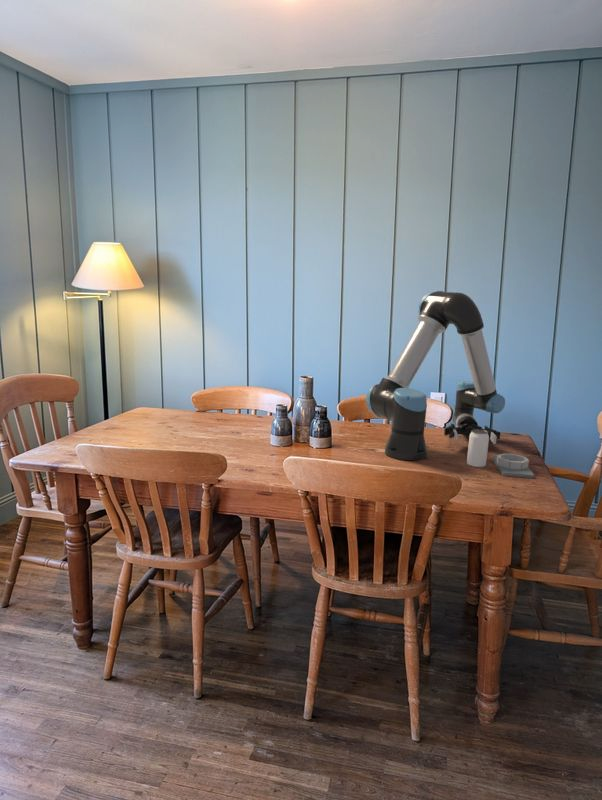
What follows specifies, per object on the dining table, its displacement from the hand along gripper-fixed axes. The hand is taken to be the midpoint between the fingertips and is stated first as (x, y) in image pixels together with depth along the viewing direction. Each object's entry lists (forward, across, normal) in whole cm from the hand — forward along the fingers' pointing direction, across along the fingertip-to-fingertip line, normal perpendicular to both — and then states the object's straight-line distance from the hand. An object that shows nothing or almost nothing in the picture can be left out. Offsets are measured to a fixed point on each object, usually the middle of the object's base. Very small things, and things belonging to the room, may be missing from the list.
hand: (475, 439), depth 212 cm
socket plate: (+9, -11, -7) cm, 16 cm away
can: (+9, +1, -7) cm, 11 cm away
